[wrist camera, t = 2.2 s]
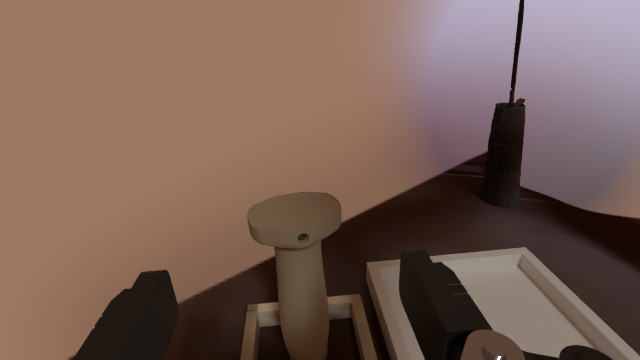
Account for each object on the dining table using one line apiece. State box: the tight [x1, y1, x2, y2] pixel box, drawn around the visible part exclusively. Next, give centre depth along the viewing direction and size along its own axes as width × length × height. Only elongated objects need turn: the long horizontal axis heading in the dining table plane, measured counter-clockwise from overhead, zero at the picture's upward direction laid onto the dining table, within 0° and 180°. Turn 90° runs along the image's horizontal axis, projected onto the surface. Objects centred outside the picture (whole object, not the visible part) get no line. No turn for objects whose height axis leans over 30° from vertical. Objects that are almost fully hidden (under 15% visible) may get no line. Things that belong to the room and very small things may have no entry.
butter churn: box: [481, 0, 525, 206], centre depth 48 cm, size 9×10×28 cm
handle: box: [247, 192, 341, 360], centre depth 27 cm, size 5×6×15 cm
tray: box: [366, 247, 640, 360], centre depth 30 cm, size 18×18×2 cm
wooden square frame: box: [240, 294, 377, 360], centre depth 30 cm, size 11×10×2 cm
